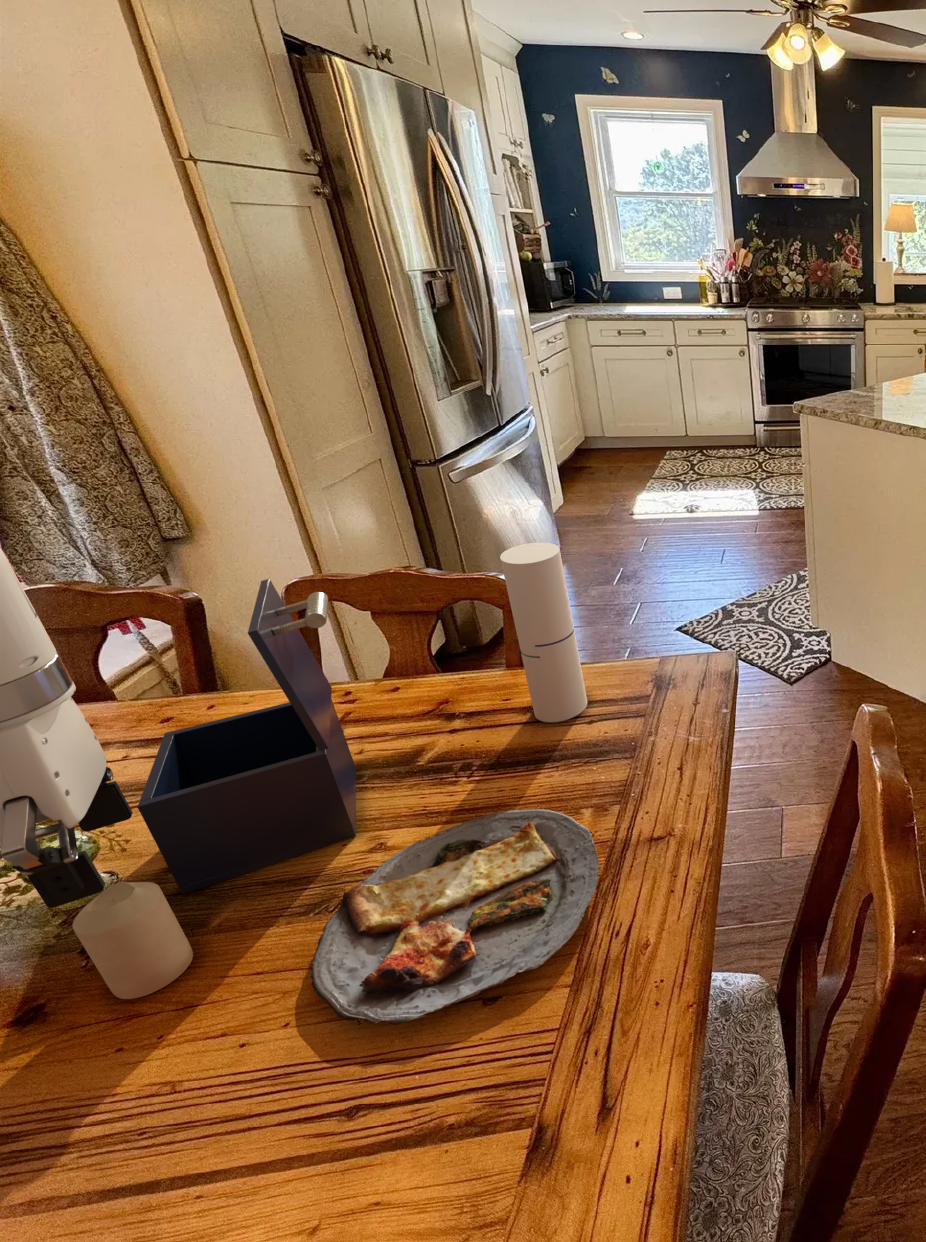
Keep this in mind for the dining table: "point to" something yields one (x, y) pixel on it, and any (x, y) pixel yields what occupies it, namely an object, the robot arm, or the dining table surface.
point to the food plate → (456, 915)
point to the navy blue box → (247, 795)
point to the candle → (133, 939)
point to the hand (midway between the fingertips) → (94, 858)
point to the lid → (294, 656)
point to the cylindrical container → (545, 630)
